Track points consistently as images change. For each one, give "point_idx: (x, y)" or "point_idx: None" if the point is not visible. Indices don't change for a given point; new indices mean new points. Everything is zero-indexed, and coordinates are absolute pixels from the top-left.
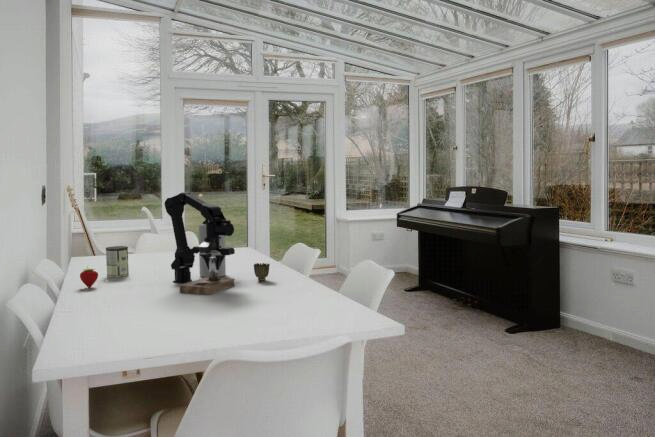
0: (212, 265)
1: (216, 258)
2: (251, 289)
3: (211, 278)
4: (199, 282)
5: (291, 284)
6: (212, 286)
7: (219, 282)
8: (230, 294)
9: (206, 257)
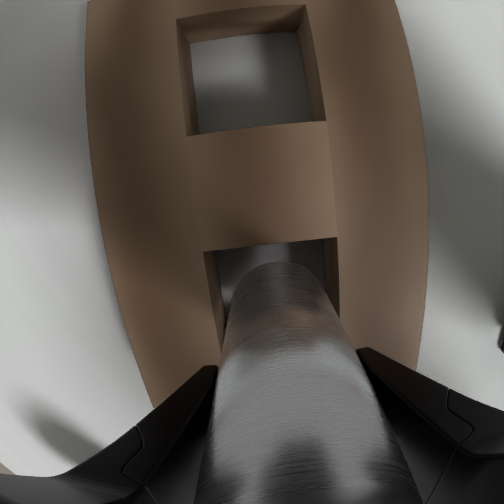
0: (255, 365)
1: (123, 495)
2: (6, 304)
3: (270, 269)
4: (324, 122)
5: (4, 434)
6: (86, 55)
7: (130, 221)
8: (6, 123)
9: (473, 467)
